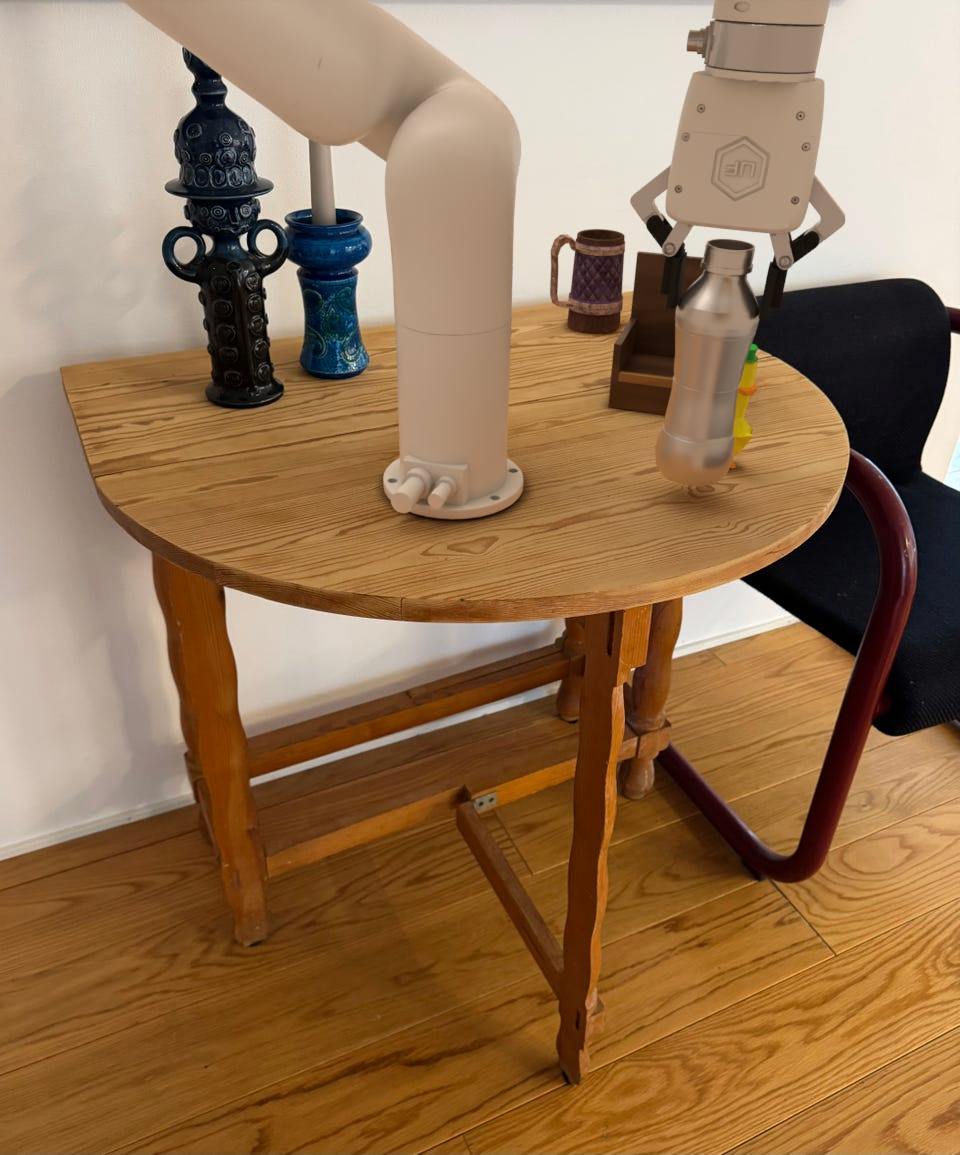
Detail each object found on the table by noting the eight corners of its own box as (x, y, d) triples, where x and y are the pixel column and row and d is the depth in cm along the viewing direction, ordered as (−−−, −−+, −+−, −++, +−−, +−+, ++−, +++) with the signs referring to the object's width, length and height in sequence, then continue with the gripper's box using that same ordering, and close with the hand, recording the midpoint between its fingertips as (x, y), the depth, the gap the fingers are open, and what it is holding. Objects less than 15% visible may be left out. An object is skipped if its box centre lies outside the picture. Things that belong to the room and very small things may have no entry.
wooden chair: (711, 421, 99) (733, 286, 91) (608, 407, 102) (620, 275, 94) (721, 387, 107) (742, 260, 99) (625, 375, 110) (638, 251, 102)
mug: (606, 315, 128) (614, 223, 122) (629, 332, 122) (639, 236, 116) (536, 322, 125) (540, 228, 119) (556, 339, 120) (562, 241, 113)
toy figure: (683, 454, 92) (701, 333, 86) (712, 447, 94) (731, 327, 87) (731, 482, 87) (754, 357, 81) (760, 474, 89) (784, 350, 82)
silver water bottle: (735, 497, 81) (785, 257, 70) (655, 493, 81) (694, 253, 70) (720, 463, 86) (765, 236, 75) (646, 460, 86) (680, 232, 75)
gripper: (628, 49, 65) (601, 309, 74) (897, 65, 60) (831, 339, 70) (646, 42, 71) (619, 284, 80) (892, 57, 66) (832, 310, 76)
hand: (718, 308), depth 75 cm, fingers closed on silver water bottle, 6 cm apart
